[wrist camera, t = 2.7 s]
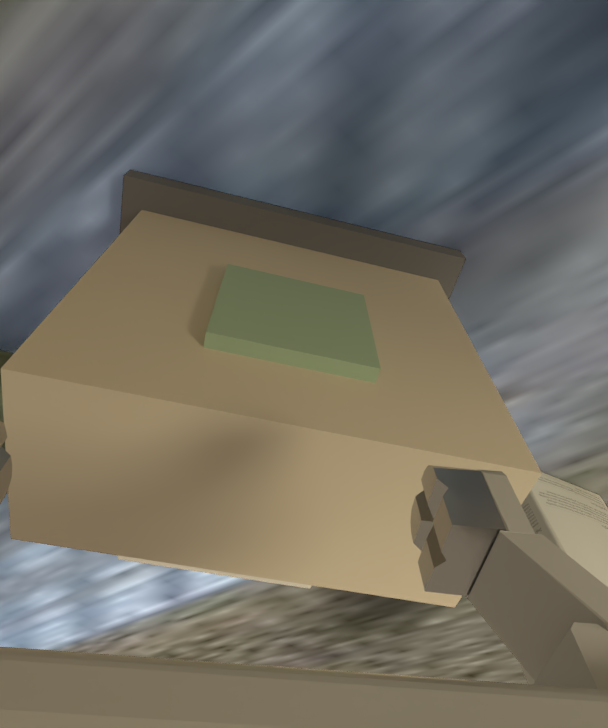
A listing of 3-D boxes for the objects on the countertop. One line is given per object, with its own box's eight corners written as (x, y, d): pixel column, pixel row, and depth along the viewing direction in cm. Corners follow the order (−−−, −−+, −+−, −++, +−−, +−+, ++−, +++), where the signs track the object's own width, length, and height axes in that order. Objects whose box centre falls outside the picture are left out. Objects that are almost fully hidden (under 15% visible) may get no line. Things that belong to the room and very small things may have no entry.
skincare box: (461, 513, 41) (538, 746, 27) (517, 454, 38) (634, 685, 24) (548, 546, 43) (658, 779, 29) (608, 493, 40) (761, 726, 26)
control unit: (130, 169, 27) (-44, 311, 14) (460, 251, 30) (596, 442, 16) (118, 336, 33) (-18, 562, 19) (400, 395, 35) (463, 634, 21)
